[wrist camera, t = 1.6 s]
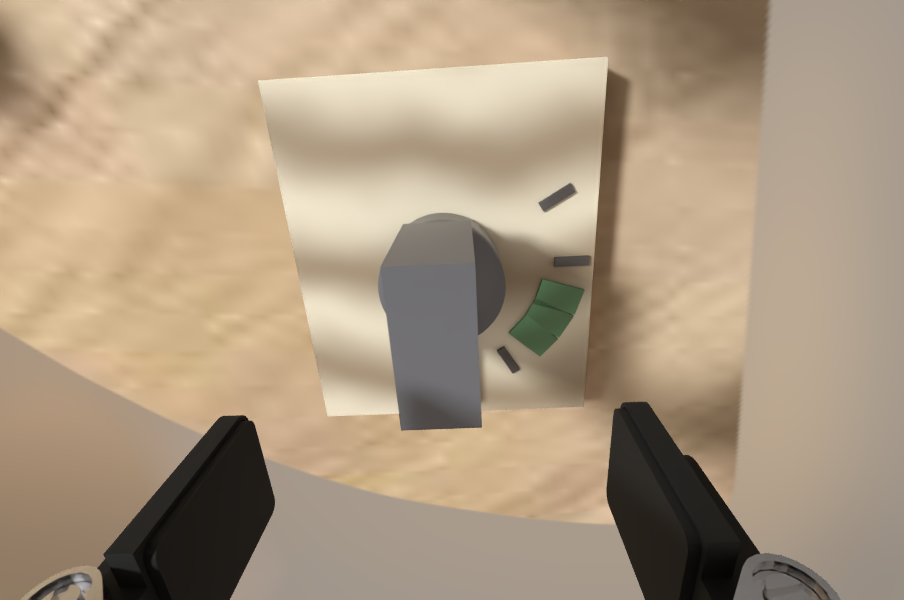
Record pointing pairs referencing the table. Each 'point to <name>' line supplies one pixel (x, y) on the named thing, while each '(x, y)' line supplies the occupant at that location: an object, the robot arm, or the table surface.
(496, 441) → the table surface
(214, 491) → the robot arm
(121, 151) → the table surface
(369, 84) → the dial board
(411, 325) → the knob
